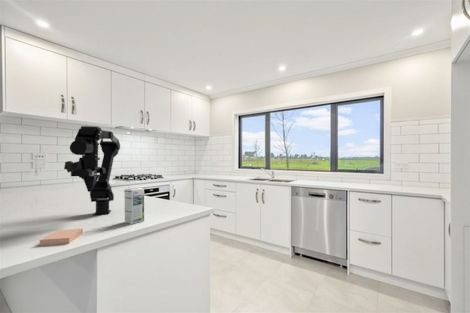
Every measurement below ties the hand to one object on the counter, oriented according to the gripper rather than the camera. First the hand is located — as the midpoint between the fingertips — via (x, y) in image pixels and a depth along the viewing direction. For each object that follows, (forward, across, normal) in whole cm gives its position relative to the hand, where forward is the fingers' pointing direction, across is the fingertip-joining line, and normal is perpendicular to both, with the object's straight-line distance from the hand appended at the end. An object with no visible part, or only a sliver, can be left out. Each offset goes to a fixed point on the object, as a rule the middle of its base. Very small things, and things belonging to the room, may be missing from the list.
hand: (89, 191), depth 91 cm
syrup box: (+13, +3, +19) cm, 23 cm away
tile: (+12, +15, 0) cm, 20 cm away
